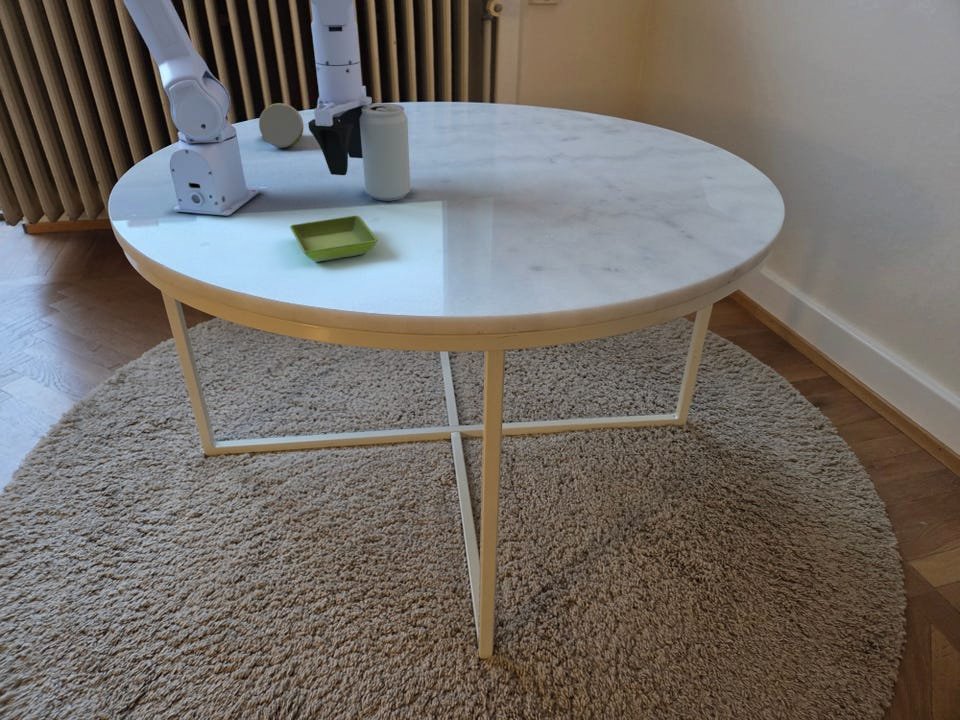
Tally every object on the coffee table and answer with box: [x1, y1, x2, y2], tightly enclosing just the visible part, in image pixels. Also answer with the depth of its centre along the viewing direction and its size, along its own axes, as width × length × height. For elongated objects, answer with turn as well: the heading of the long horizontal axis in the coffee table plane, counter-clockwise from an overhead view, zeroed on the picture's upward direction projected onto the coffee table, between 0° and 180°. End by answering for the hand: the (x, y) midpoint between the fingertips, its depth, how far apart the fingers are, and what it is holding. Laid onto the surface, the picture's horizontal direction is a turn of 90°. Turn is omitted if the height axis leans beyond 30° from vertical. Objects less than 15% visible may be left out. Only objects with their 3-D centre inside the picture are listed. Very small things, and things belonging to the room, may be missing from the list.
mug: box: [258, 102, 304, 149], centre depth 115 cm, size 8×10×10 cm
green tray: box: [289, 215, 378, 263], centre depth 81 cm, size 9×9×2 cm
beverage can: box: [360, 102, 411, 202], centre depth 93 cm, size 6×6×12 cm
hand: (348, 165), depth 95 cm, fingers open, 7 cm apart
